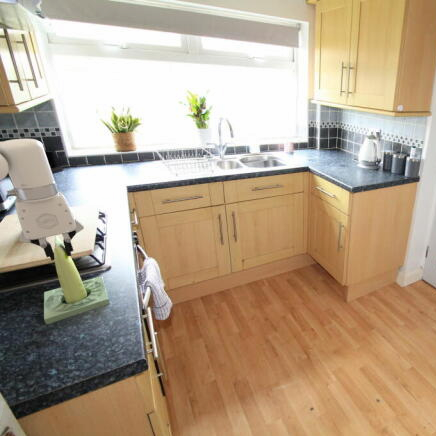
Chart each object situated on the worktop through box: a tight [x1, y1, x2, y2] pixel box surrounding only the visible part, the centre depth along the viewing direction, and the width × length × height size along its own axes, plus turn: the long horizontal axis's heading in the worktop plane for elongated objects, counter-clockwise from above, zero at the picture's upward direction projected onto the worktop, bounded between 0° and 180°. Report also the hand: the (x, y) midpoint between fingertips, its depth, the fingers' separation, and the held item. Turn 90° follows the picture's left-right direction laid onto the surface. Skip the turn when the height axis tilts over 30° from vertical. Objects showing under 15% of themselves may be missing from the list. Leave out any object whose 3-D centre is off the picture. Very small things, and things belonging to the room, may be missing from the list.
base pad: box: [43, 275, 111, 325], centre depth 91 cm, size 14×14×3 cm
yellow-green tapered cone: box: [53, 235, 88, 304], centre depth 87 cm, size 6×5×20 cm
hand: (61, 255), depth 85 cm, fingers closed on yellow-green tapered cone, 2 cm apart
